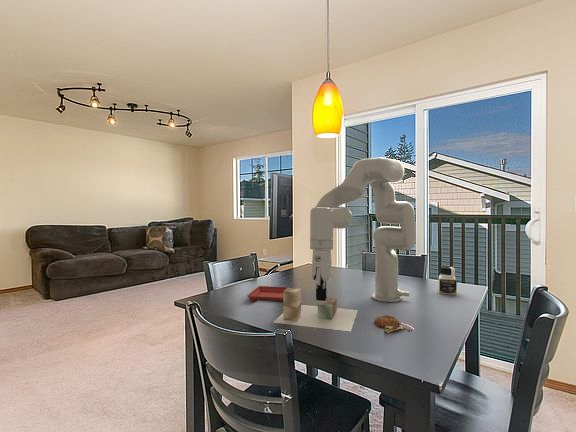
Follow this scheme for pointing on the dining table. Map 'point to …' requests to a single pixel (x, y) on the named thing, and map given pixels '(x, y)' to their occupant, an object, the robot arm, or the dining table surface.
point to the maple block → (292, 304)
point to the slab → (310, 319)
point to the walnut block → (327, 308)
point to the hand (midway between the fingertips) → (321, 299)
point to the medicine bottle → (447, 281)
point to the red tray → (267, 293)
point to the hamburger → (390, 323)
